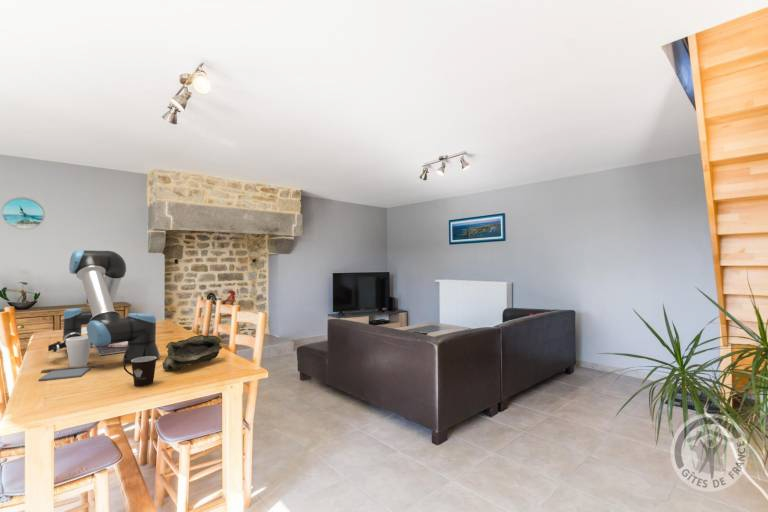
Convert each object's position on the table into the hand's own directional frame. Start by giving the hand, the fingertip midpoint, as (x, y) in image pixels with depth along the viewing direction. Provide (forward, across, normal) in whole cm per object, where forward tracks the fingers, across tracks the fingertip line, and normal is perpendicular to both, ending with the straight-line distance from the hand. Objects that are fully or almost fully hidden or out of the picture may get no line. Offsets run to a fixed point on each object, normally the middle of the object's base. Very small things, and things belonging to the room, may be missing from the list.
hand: (77, 347), depth 177 cm
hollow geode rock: (+43, -40, -8) cm, 59 cm away
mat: (+21, +5, -7) cm, 22 cm away
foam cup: (+7, 0, -8) cm, 10 cm away
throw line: (+13, +2, -7) cm, 15 cm away
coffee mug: (+56, -17, -8) cm, 59 cm away
